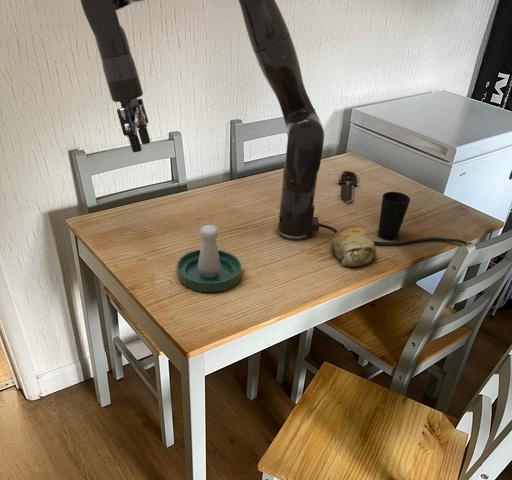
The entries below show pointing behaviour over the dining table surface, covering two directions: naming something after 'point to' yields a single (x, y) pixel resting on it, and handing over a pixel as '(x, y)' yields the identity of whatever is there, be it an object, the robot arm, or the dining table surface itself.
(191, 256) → the teal round dish
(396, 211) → the cup
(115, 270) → the dining table surface
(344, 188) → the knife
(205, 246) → the salt shaker
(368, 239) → the pastry
